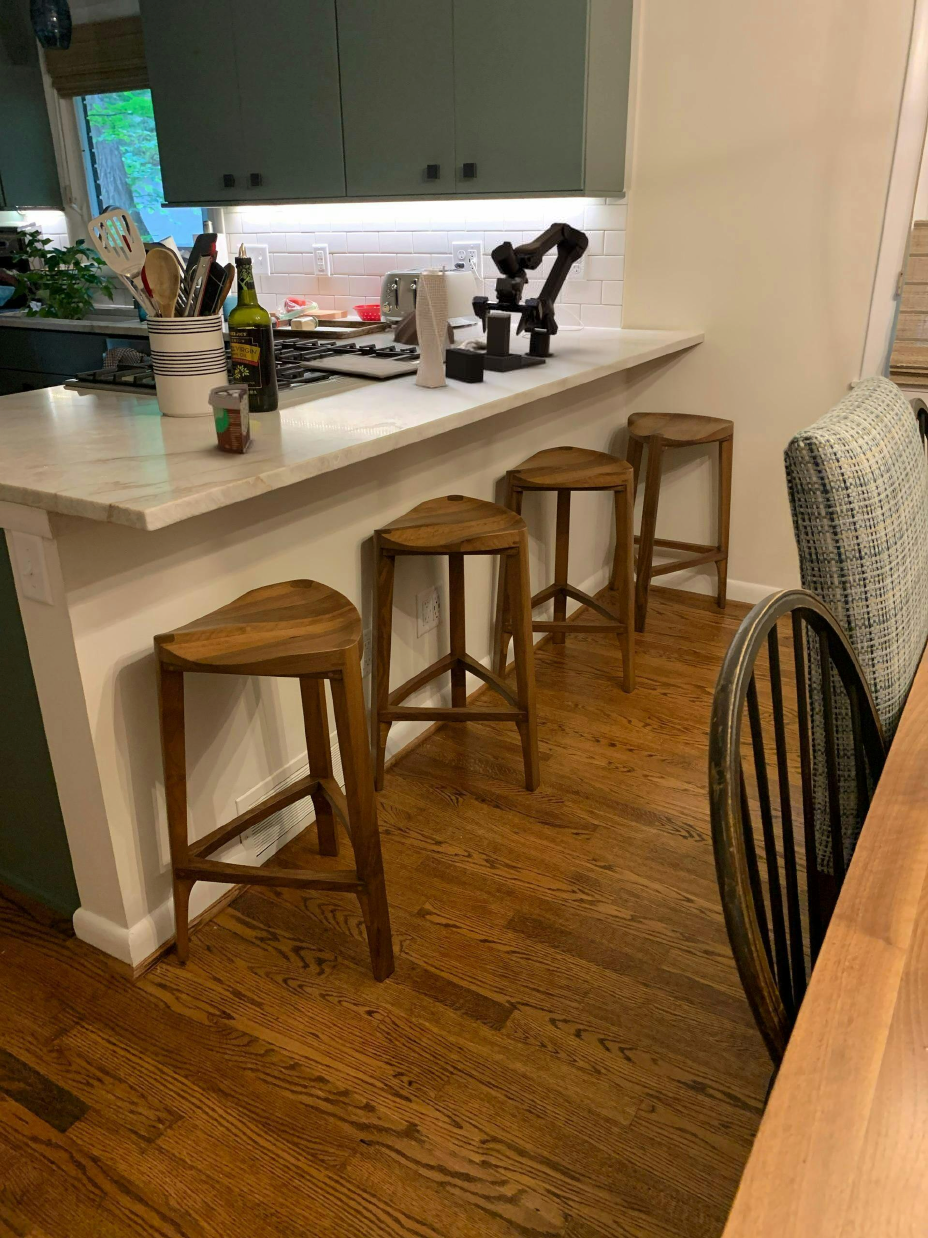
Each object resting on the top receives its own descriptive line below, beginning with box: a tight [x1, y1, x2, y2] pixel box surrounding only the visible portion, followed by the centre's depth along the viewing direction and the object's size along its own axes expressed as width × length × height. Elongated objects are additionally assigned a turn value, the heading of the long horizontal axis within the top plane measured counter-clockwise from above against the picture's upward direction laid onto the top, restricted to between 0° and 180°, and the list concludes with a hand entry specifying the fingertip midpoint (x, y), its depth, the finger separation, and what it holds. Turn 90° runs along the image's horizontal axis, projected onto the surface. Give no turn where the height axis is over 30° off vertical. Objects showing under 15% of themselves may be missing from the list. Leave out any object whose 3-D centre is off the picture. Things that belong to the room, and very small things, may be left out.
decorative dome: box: [393, 309, 455, 346], centre depth 293 cm, size 19×20×10 cm
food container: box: [207, 383, 251, 454], centre depth 164 cm, size 12×6×10 cm, turn 5°
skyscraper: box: [415, 262, 449, 389], centre depth 221 cm, size 8×8×28 cm
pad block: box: [485, 312, 512, 358], centre depth 250 cm, size 5×5×13 cm
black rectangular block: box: [444, 347, 485, 384], centre depth 234 cm, size 10×5×7 cm, turn 39°
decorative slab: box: [299, 354, 419, 379], centre depth 242 cm, size 27×21×2 cm
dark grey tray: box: [483, 351, 547, 373], centre depth 258 cm, size 22×16×4 cm
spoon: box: [457, 336, 487, 349], centre depth 278 cm, size 9×32×4 cm, turn 153°
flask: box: [441, 323, 452, 363], centre depth 259 cm, size 7×7×10 cm
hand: (500, 333), depth 250 cm, fingers open, 9 cm apart
